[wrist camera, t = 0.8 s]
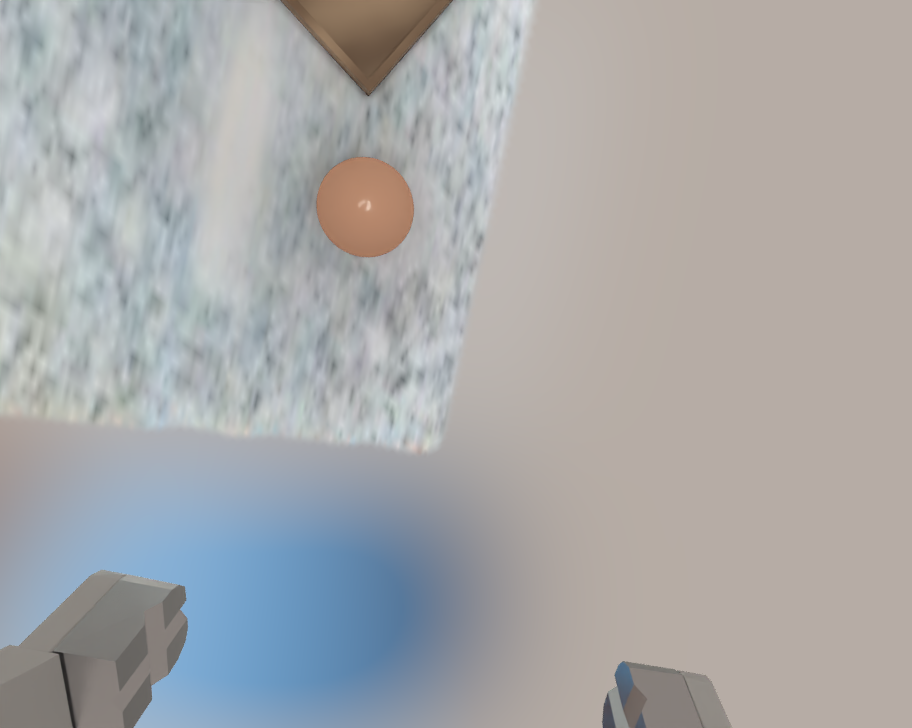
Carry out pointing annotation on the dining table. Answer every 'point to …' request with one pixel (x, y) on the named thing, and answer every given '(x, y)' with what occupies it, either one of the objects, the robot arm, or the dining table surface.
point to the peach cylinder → (365, 207)
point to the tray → (367, 32)
